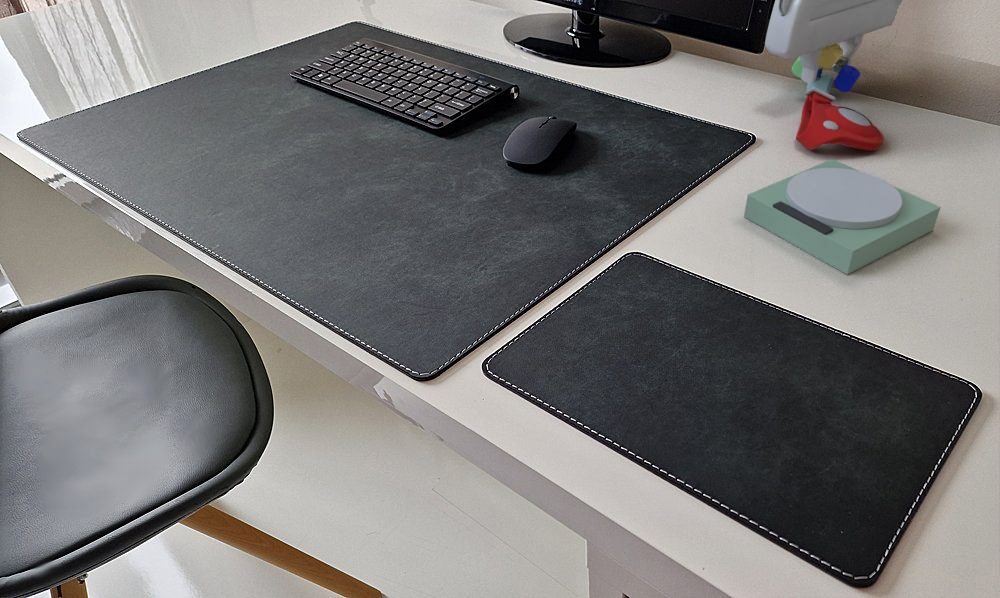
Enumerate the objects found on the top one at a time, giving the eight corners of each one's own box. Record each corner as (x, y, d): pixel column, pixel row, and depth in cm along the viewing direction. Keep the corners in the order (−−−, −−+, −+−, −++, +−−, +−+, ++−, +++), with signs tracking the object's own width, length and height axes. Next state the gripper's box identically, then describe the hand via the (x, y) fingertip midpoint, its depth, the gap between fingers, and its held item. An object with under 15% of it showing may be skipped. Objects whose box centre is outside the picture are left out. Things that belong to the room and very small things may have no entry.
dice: (856, 95, 98) (868, 44, 94) (851, 103, 96) (863, 51, 92) (791, 84, 101) (800, 34, 98) (785, 91, 100) (794, 41, 96)
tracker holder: (905, 132, 87) (857, 138, 81) (881, 166, 89) (833, 174, 84) (822, 76, 93) (771, 78, 87) (802, 109, 96) (752, 113, 90)
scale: (827, 180, 82) (833, 151, 80) (933, 230, 73) (943, 199, 71) (743, 216, 77) (748, 187, 75) (847, 274, 68) (855, 243, 67)
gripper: (808, -19, 83) (786, 105, 91) (930, -54, 91) (899, 63, 99) (762, -31, 87) (745, 89, 95) (882, -64, 95) (857, 49, 104)
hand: (824, 75), depth 97 cm, fingers closed on dice, 4 cm apart
